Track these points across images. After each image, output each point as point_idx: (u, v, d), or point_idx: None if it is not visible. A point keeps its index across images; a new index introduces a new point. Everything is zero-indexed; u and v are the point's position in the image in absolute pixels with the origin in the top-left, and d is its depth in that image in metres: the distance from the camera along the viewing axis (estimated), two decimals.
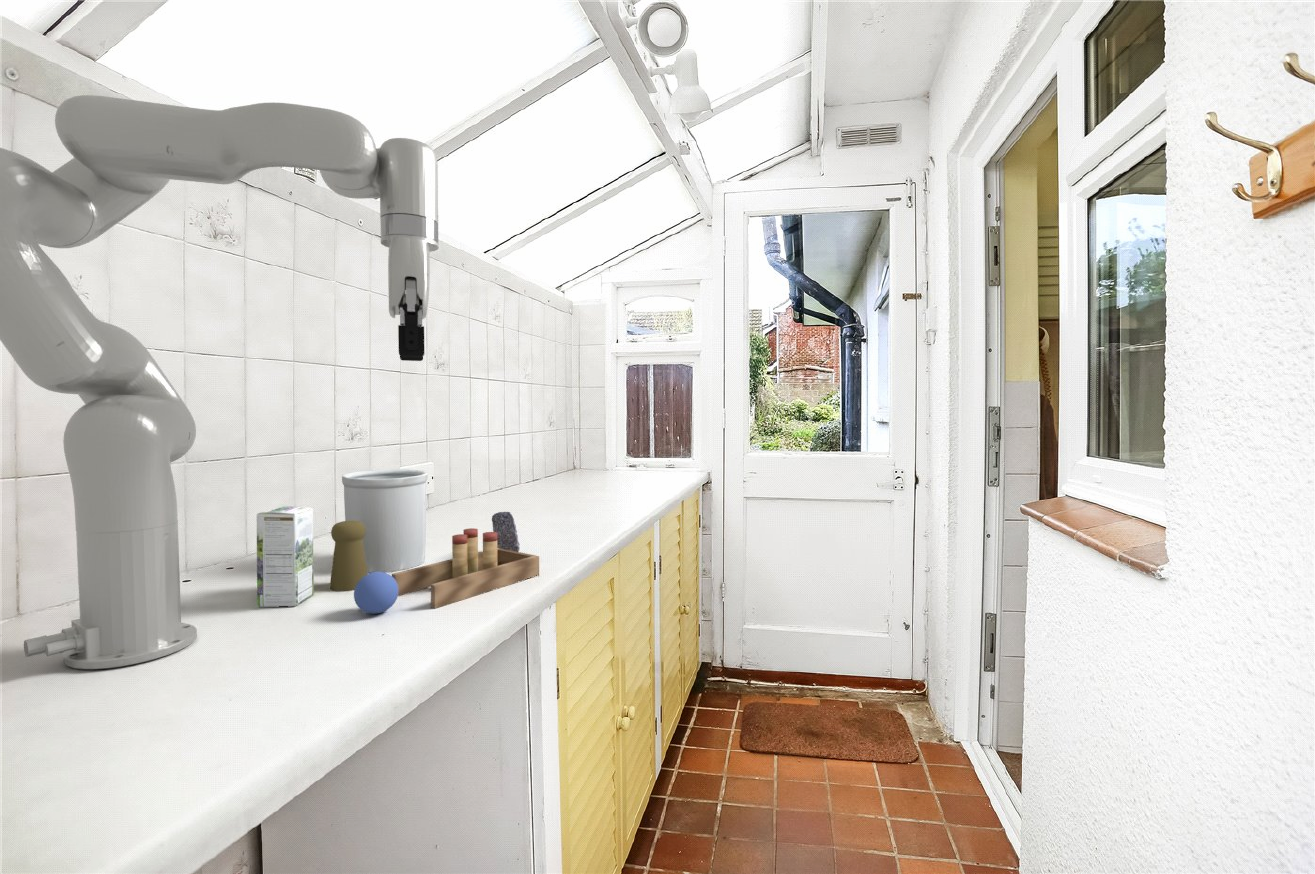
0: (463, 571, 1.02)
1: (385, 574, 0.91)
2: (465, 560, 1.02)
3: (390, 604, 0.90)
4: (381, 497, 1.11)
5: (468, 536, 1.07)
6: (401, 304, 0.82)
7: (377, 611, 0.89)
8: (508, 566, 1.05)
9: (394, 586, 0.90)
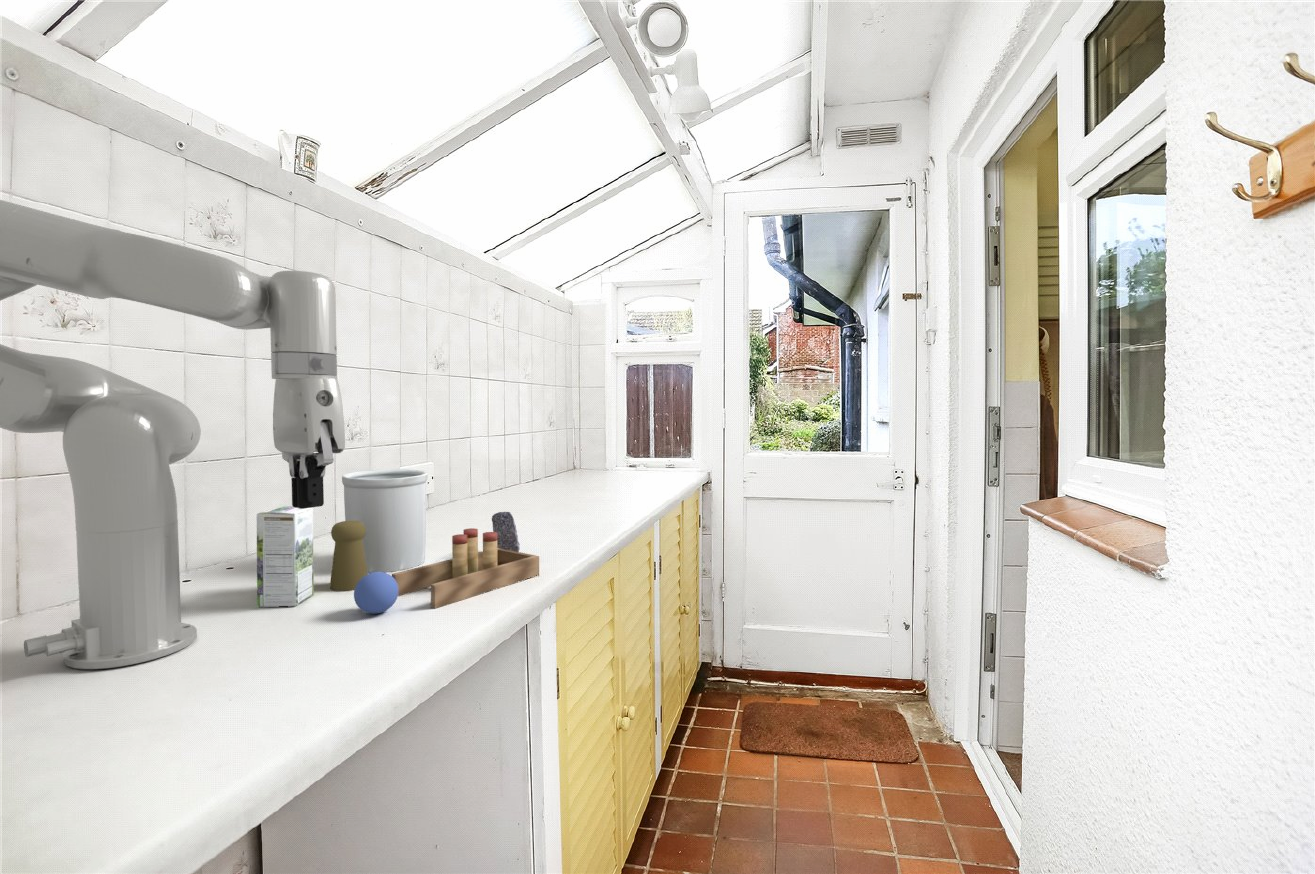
0: (463, 571, 1.02)
1: (385, 574, 0.91)
2: (465, 560, 1.02)
3: (390, 604, 0.90)
4: (381, 497, 1.11)
5: (468, 536, 1.07)
6: None
7: (377, 611, 0.89)
8: (508, 566, 1.05)
9: (394, 586, 0.90)
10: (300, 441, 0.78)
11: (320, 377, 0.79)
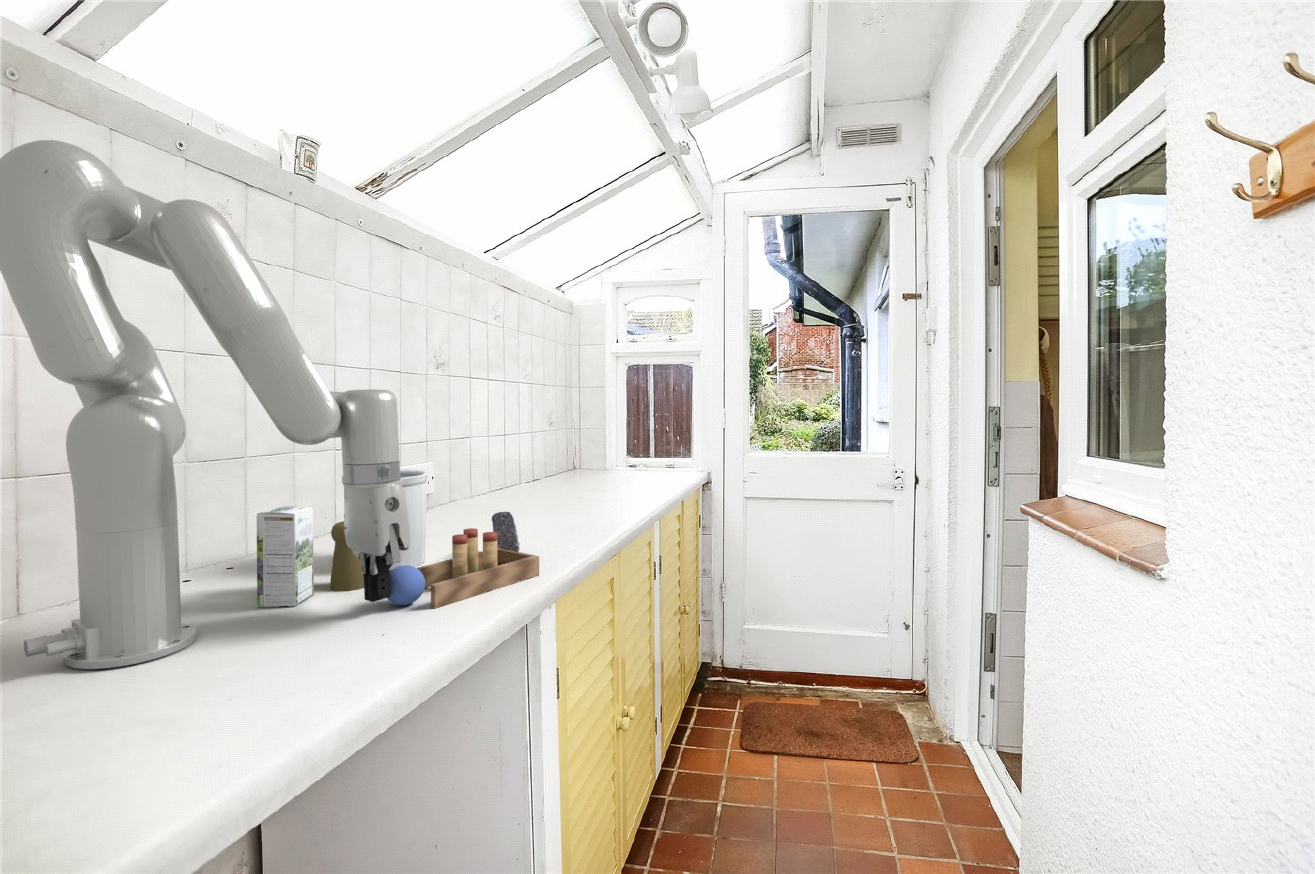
0: (463, 571, 1.02)
1: None
2: (465, 560, 1.02)
3: (406, 596, 0.92)
4: None
5: (468, 536, 1.07)
6: None
7: (396, 589, 0.91)
8: (508, 566, 1.05)
9: (421, 591, 0.94)
10: (371, 544, 0.86)
11: (387, 485, 0.87)
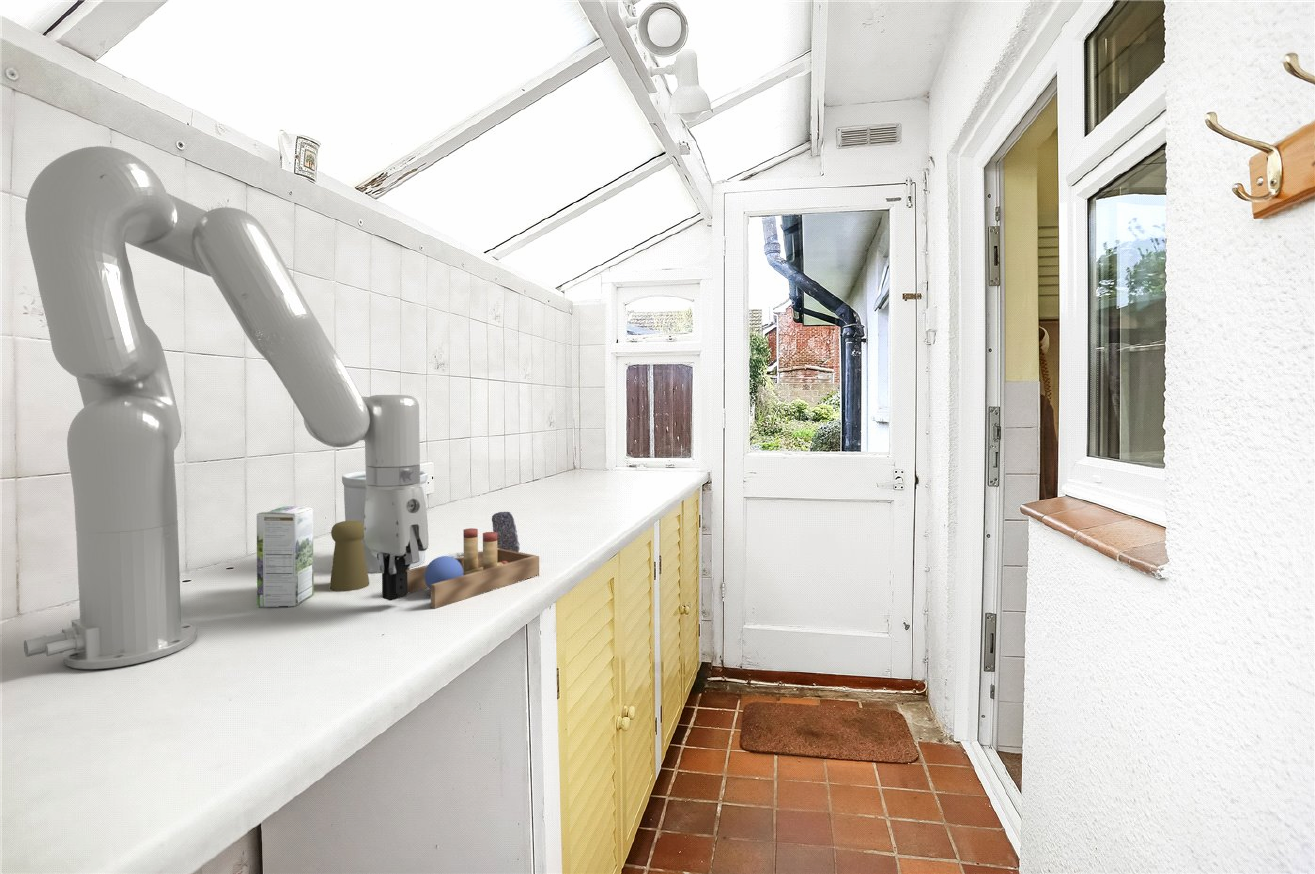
0: None
1: None
2: None
3: (454, 568, 0.99)
4: None
5: (468, 536, 1.07)
6: None
7: (460, 565, 1.01)
8: (508, 566, 1.05)
9: None
10: (392, 544, 0.89)
11: (408, 487, 0.90)
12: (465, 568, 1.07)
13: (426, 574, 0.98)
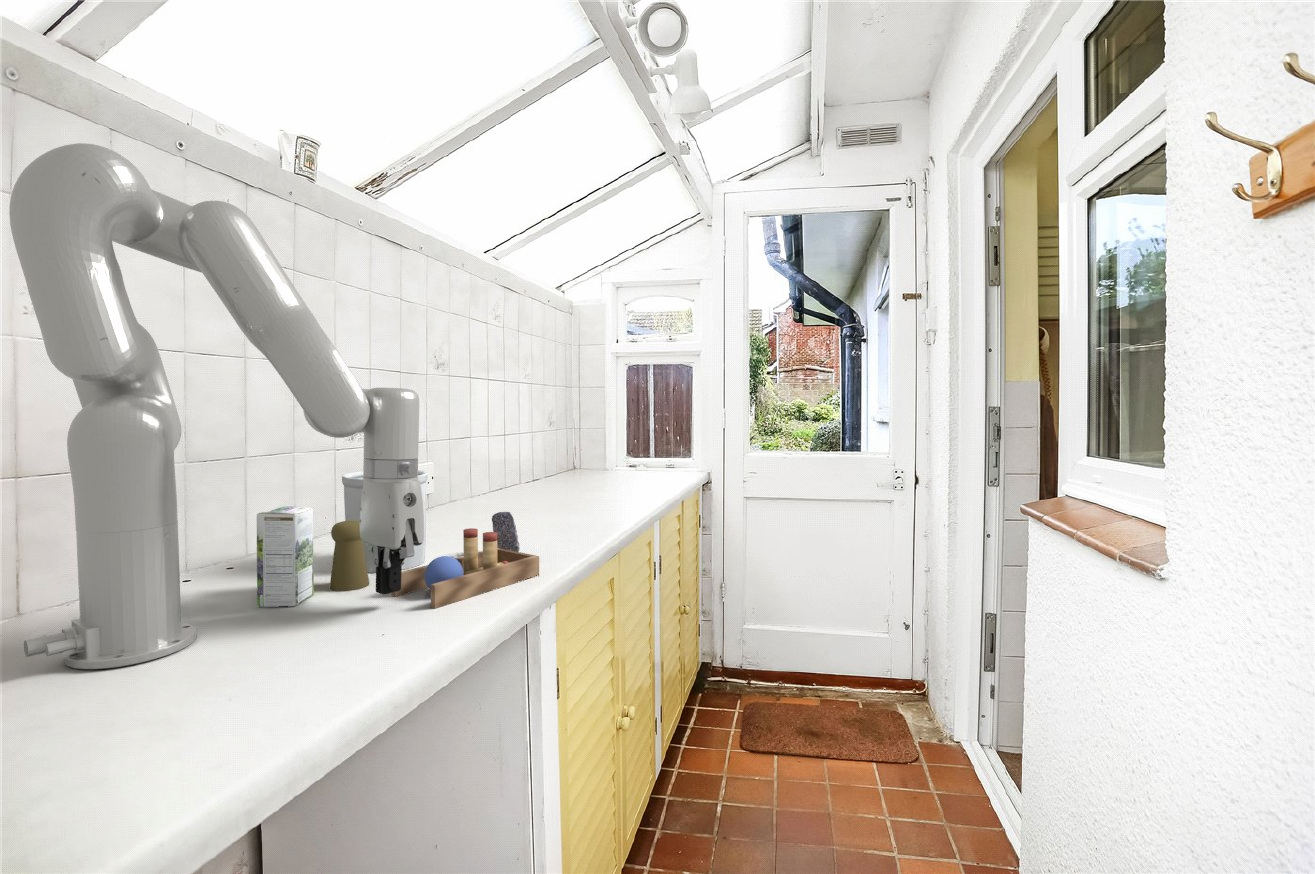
0: None
1: None
2: None
3: (454, 568, 0.99)
4: None
5: (468, 536, 1.07)
6: None
7: (460, 565, 1.01)
8: (508, 566, 1.05)
9: None
10: (387, 537, 0.89)
11: (406, 480, 0.90)
12: (465, 568, 1.07)
13: (426, 574, 0.98)
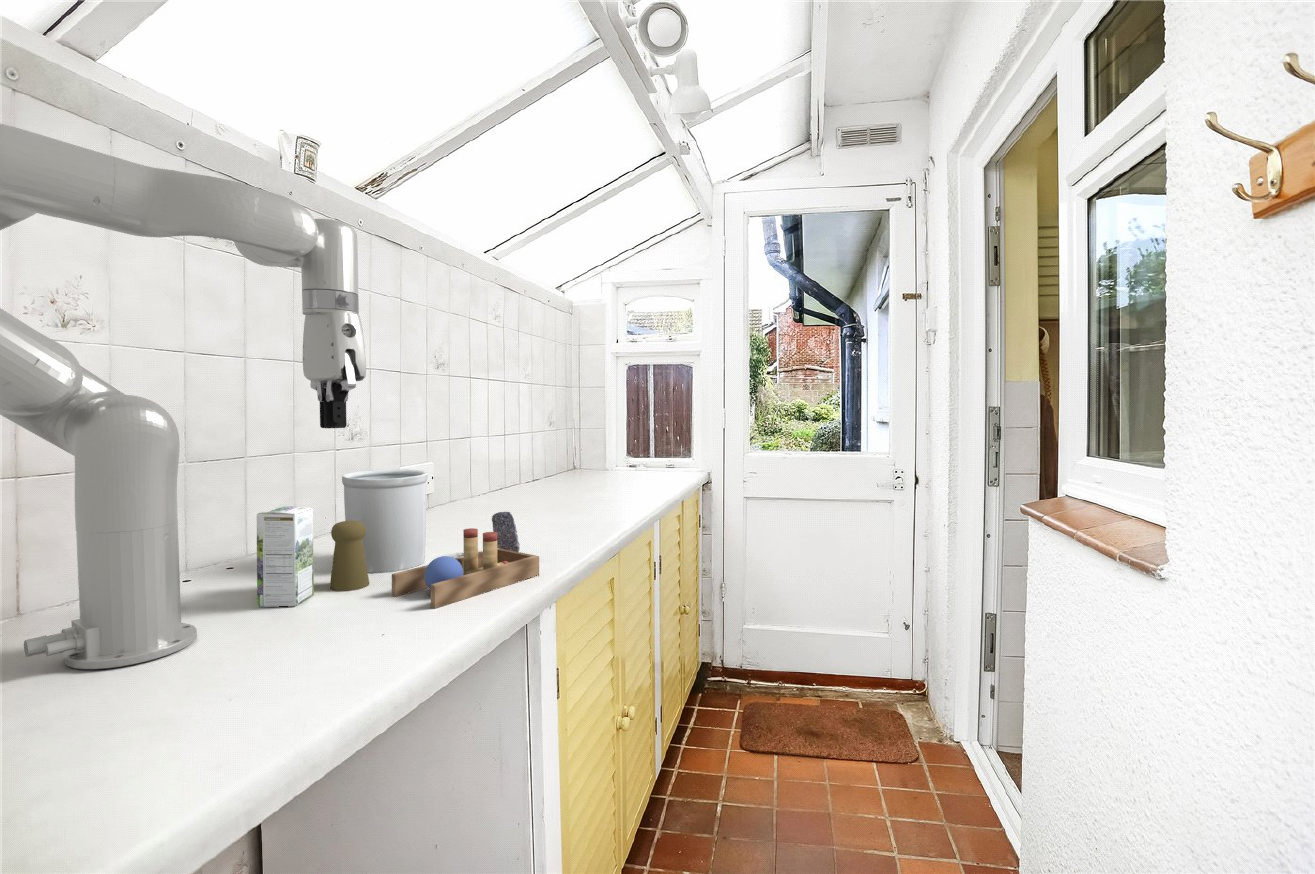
0: None
1: None
2: None
3: (454, 568, 0.99)
4: (381, 497, 1.11)
5: (468, 536, 1.07)
6: None
7: (460, 565, 1.01)
8: (508, 566, 1.05)
9: None
10: (327, 367, 0.90)
11: (345, 312, 0.91)
12: (465, 568, 1.07)
13: (426, 574, 0.98)
